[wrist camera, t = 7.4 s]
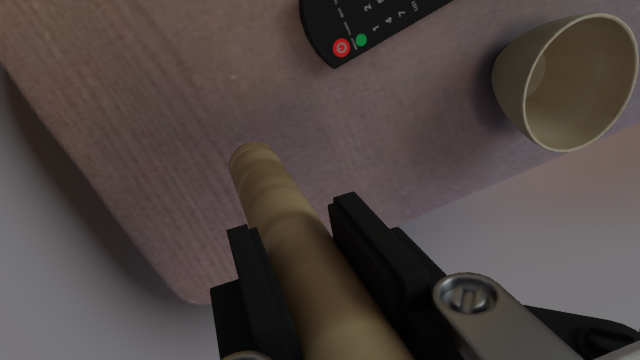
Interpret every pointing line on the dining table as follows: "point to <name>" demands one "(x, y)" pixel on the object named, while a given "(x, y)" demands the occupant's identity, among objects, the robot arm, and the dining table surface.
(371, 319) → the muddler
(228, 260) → the dining table surface
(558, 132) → the flower pot
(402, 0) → the remote control
